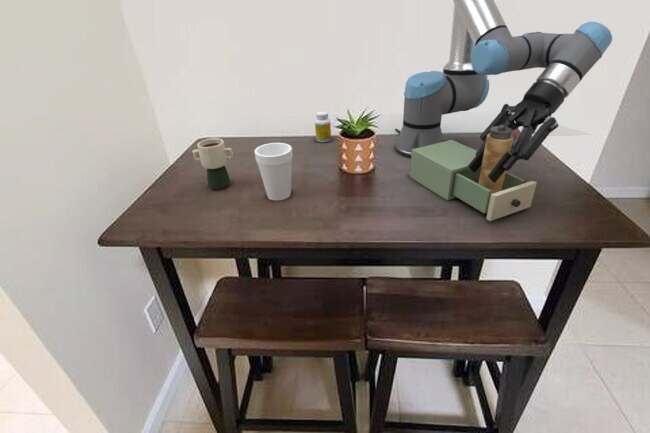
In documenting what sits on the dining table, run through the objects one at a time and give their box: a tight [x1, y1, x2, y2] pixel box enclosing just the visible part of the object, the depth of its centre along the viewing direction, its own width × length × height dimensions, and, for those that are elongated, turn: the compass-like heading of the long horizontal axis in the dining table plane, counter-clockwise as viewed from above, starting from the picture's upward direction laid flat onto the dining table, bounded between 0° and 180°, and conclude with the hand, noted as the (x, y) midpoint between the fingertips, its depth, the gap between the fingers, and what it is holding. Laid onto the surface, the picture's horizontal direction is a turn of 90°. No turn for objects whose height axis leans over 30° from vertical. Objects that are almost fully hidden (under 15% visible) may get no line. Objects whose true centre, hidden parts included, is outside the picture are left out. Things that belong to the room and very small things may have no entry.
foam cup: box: [254, 142, 294, 201], centre depth 99 cm, size 10×9×13 cm
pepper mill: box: [478, 125, 513, 202], centre depth 88 cm, size 5×5×18 cm
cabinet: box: [409, 139, 478, 201], centre depth 102 cm, size 16×14×8 cm
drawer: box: [451, 165, 538, 222], centre depth 91 cm, size 16×13×6 cm
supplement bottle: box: [314, 110, 332, 143], centre depth 134 cm, size 5×5×10 cm
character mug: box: [192, 137, 234, 190], centre depth 106 cm, size 11×7×13 cm, turn 91°
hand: (481, 174), depth 88 cm, fingers closed on pepper mill, 5 cm apart
